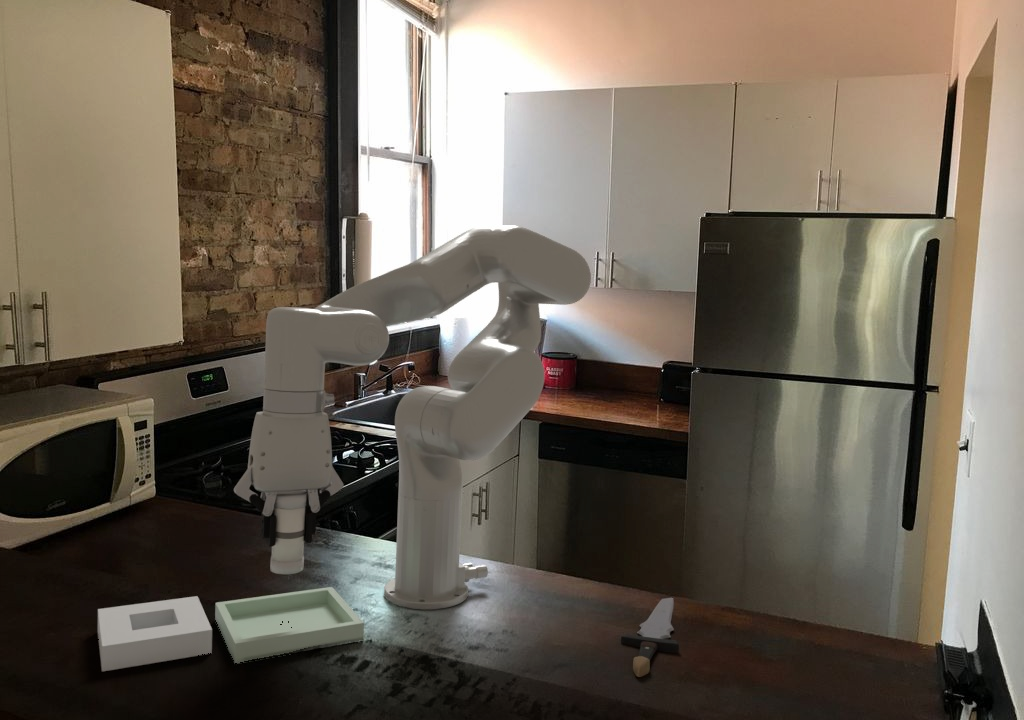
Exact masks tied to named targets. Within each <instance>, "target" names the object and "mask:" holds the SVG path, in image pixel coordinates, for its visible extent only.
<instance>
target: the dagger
mask: <svg viewBox="0 0 1024 720" xmlns="http://www.w3.org/2000/svg"><path fill="white" fill-rule="evenodd" d="M674 603H675V602H674V597H673V598H672V597H667V598H661V599H660V600H659V602H658V603H657V605H656V606H655V607H654V609H653V610H652V612H651V613H650V615H649V617H648V618H647V619H646V620H645V621H644V622H642V623H640V624H639V627H640V630H638V631H637V632H636V633H637V634H638V635H636V634H630V633H626V634H624V635H622V636H621V637H620V638H621V639H620V644H622V645H626V646H627V645H628V646H632V647H636V648H639V653H638V656H635V657H633V660H632V661H633V662H632V670H633V673H634V675H635V676H636V677H638V678H642V677H644V676H646V675H647V674H649V673H650V669H651V668H650V665H651V662H650V661H651V660H652V657H653V656H654V654H655V653H656V652H657V651H658V652H664V653H673V654H679V652H680V650H679V649H680V648H679V647H680V644H679V643H678V642H677V640H675V639H671V632H672V631H674V630H675V629H674V627H673V625H672V623H671V622H672V617H673V612H674Z"/></svg>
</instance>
